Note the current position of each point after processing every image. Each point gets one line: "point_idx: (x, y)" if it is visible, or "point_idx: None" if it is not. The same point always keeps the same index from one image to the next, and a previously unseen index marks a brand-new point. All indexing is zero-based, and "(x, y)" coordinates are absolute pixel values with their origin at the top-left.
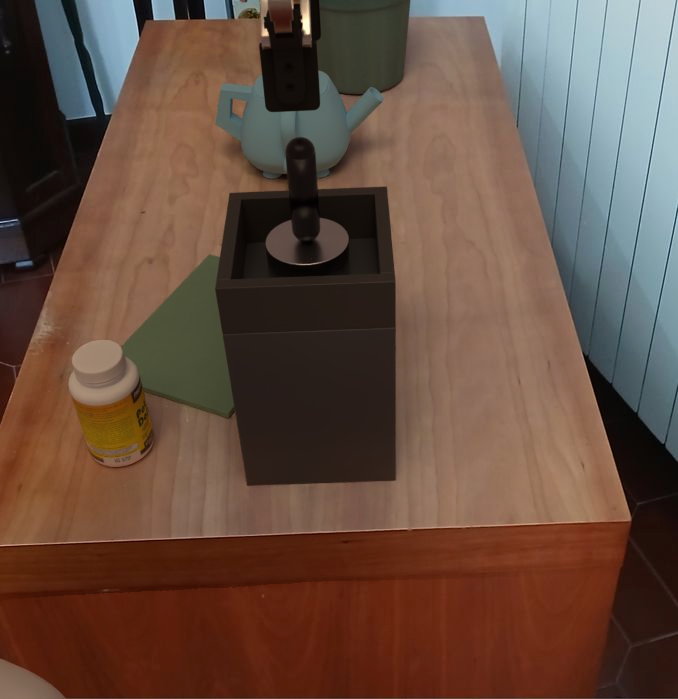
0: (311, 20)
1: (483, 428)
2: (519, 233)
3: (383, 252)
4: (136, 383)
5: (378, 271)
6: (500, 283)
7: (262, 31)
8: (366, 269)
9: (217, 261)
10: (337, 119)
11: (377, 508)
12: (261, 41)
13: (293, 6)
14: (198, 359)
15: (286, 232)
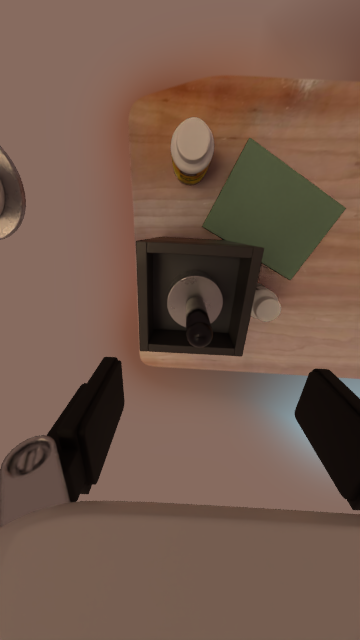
0: (311, 432)
1: None
2: (301, 367)
3: (168, 347)
4: (186, 172)
5: (176, 336)
6: (268, 353)
7: (1, 480)
8: None
9: (335, 214)
10: None
11: None
12: (5, 458)
13: (334, 435)
14: (246, 207)
15: (205, 290)
